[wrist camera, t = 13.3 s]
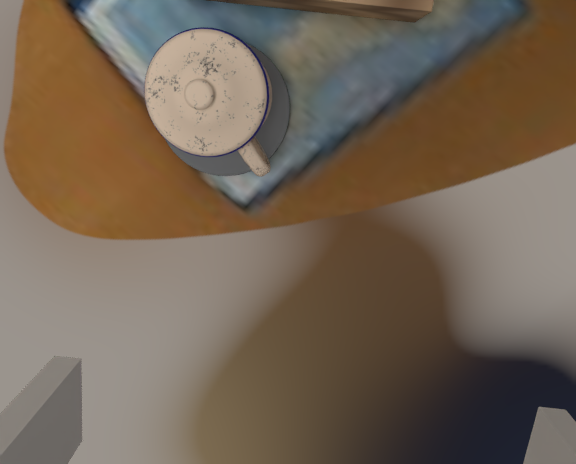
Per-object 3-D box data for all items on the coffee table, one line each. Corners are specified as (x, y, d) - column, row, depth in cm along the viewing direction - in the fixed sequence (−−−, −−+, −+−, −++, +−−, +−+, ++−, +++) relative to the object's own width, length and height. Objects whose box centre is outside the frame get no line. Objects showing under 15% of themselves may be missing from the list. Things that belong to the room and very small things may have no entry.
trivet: (296, 46, 44) (296, 45, 43) (283, 180, 48) (282, 182, 47) (161, 32, 44) (158, 31, 43) (157, 167, 48) (154, 168, 47)
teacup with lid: (153, 78, 44) (102, 73, 33) (237, 18, 43) (214, -9, 32) (229, 191, 47) (206, 221, 36) (312, 138, 45) (315, 152, 34)
